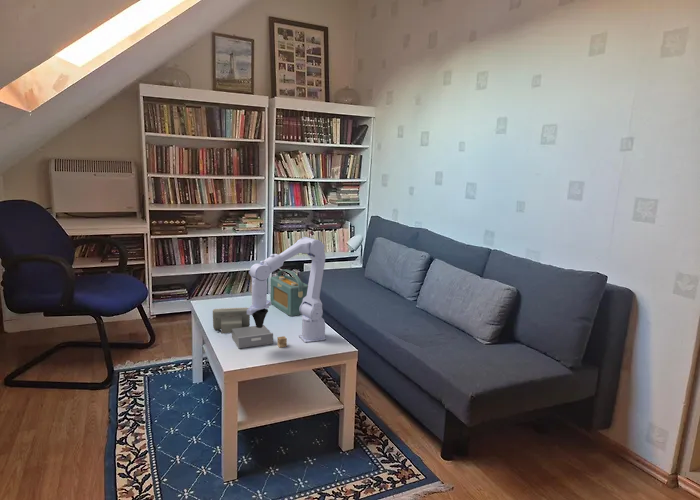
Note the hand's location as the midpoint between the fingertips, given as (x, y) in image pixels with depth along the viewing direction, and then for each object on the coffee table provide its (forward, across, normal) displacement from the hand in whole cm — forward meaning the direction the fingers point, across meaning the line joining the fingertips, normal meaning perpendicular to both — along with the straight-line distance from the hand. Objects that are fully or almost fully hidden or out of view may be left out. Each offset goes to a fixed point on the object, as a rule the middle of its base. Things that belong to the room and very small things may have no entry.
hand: (259, 327), depth 187 cm
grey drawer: (+10, +7, +8) cm, 14 cm away
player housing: (+10, +8, +9) cm, 16 cm away
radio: (+10, +54, +17) cm, 57 cm away
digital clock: (+10, +15, +24) cm, 30 cm away
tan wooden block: (+10, +8, -6) cm, 14 cm away
